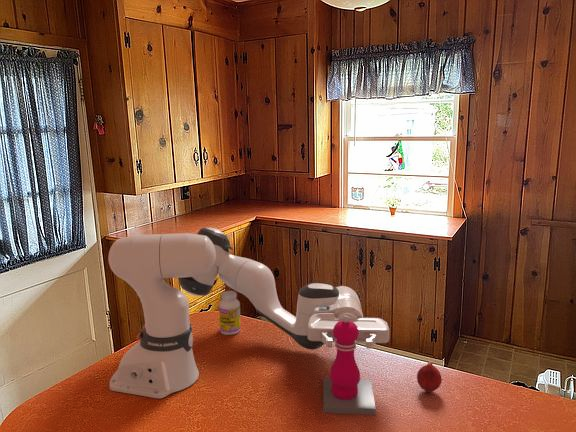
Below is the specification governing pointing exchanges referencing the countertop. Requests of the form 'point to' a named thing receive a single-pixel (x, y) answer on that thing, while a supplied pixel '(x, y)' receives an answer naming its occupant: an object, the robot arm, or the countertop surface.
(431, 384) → the onion
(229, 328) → the supplement bottle
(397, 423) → the countertop surface
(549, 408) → the countertop surface
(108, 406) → the countertop surface
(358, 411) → the silver flat square block
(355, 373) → the pepper mill
